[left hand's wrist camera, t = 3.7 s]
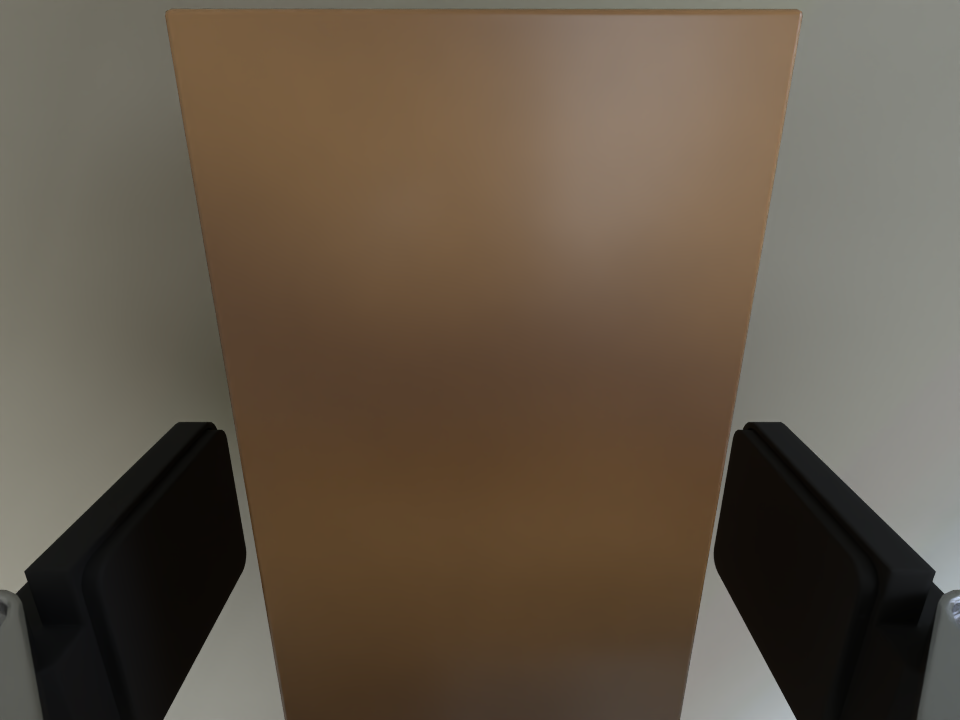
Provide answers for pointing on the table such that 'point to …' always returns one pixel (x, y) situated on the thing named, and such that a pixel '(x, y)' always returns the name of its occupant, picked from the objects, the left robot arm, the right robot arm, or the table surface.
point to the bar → (483, 336)
